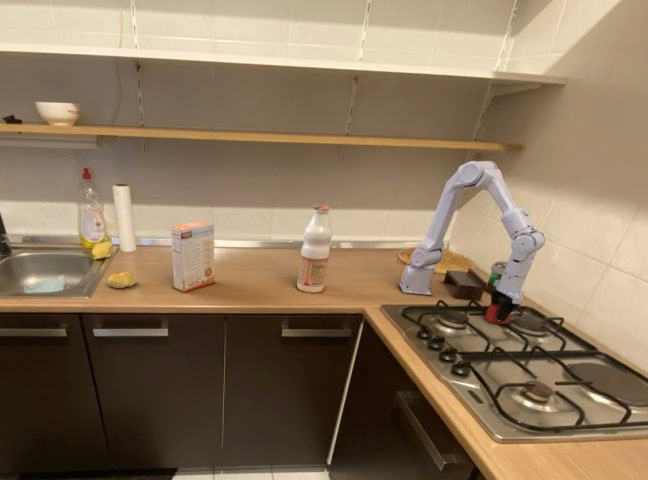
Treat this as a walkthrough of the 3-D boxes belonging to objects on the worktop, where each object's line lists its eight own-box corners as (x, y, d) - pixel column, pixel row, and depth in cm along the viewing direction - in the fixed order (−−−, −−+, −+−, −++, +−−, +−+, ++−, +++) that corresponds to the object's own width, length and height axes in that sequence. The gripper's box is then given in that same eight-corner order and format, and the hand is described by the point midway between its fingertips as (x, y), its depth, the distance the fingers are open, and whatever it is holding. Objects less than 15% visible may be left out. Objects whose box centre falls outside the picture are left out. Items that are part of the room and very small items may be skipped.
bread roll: (105, 282, 133) (103, 271, 131) (130, 278, 137) (129, 268, 135) (112, 290, 127) (110, 279, 125) (138, 286, 131) (137, 275, 129)
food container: (485, 284, 147) (495, 258, 142) (504, 288, 143) (514, 262, 138) (479, 292, 138) (489, 266, 133) (498, 297, 135) (509, 270, 130)
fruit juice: (291, 288, 135) (301, 205, 121) (304, 281, 141) (314, 202, 127) (316, 295, 130) (329, 209, 116) (327, 287, 137) (341, 205, 123)
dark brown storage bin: (455, 298, 133) (461, 280, 130) (442, 282, 146) (448, 266, 143) (480, 300, 132) (487, 283, 128) (465, 284, 145) (471, 268, 142)
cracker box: (203, 278, 140) (203, 219, 130) (214, 283, 136) (215, 223, 126) (172, 287, 131) (169, 225, 121) (183, 292, 128) (181, 229, 117)
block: (490, 322, 117) (495, 309, 114) (484, 316, 120) (489, 303, 118) (506, 324, 116) (512, 311, 114) (500, 318, 120) (505, 305, 118)
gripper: (542, 284, 104) (521, 328, 111) (518, 267, 116) (501, 308, 123) (514, 281, 105) (495, 325, 112) (493, 265, 117) (477, 305, 124)
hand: (496, 316), depth 117 cm, fingers closed on block, 4 cm apart
